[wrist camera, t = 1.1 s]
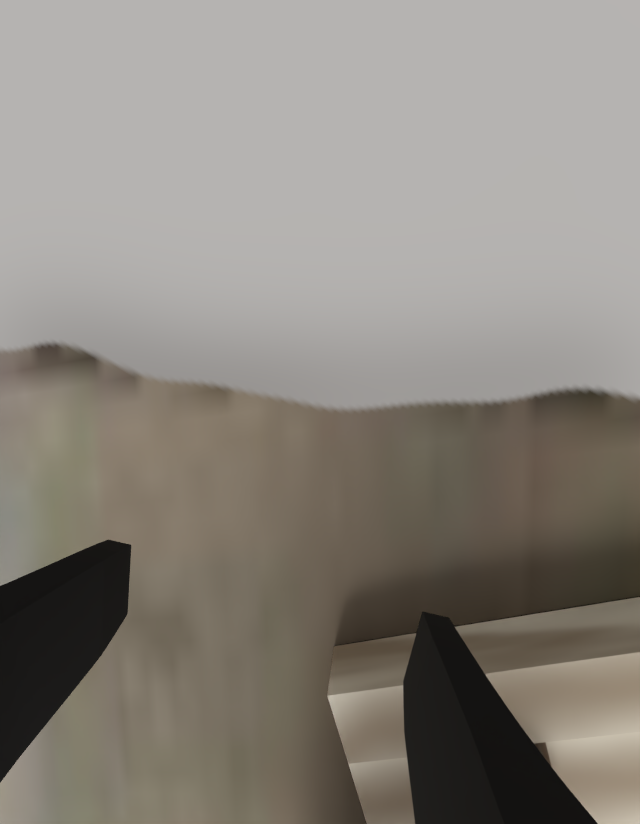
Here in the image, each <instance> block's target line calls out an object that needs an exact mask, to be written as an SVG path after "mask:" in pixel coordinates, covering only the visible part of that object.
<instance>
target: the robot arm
mask: <svg viewBox="0 0 640 824" xmlns="http://www.w3.org/2000/svg"><path fill="white" fill-rule="evenodd" d="M130 557H131V545H129V544H125V543H120V542H116V541H112V540H106V541H103V542H101V543H98V544H96V545H93V546H91V547H89V548H86V549H84V550H82V551H79V552H77V553H75V554H73V555H70V556H68V557H66V558H64V559H61V560H59V561H57V562H55V563H52V564H50V565H48V566H46V567H43V568H41V569H39V570H36V571H34V572H32V573H30V574H27V575H25V576H23V577H20V578H18V579H16V580H14V581H11V582H9V583H7V584H4V585H2V586H0V782H1V781H2V779H3V778H4V777H5V776H6V774H7V773H8V772H9V770H10V769H11V768H12V766H13V765H14V764H15V762H16V761H17V760H18V758H19V757H20V756H21V755H22V753H23V752H24V751H25V750H26V748H27V747H28V746H29V745H30V743H31V742H32V741H33V740H34V739H35V737H36V736H37V735H38V734H39V732H40V731H41V730H42V729H43V727H44V726H45V725H46V724H47V722H48V721H49V720H50V719H51V717H52V716H53V715H54V714H55V713H56V711H57V710H58V709H59V708H60V706H61V705H62V704H63V703H64V701H65V700H66V699H67V698H68V696H69V695H70V694H71V693H72V691H73V690H74V689H75V688H76V686H77V685H78V684H79V683H80V681H81V680H82V679H83V678H84V676H85V675H86V674H87V673H88V671H89V670H90V669H91V668H92V666H93V665H94V664H95V663H96V661H97V660H98V659H99V657H100V656H101V655H102V653H103V652H104V650H105V649H106V647H107V646H108V644H109V643H110V641H111V639H112V638H113V636H114V635H115V633H116V632H117V630H118V628H119V627H120V625H121V624H122V622H123V620H124V619H125V617H126V615H127V612H128V593H129V575H130ZM403 708H404V735H405V744H406V752H407V761H408V769H409V778H410V786H411V794H412V802H413V810H414V818H415V824H598V823H597V822H596V821H595V820H594V818H593V817H592V816H591V815H590V814H589V812H588V811H587V810H586V809H585V808H584V806H583V805H582V804H581V803H580V802H579V800H578V799H577V798H576V797H575V796H574V794H573V793H572V792H571V791H570V790H569V788H568V787H567V786H566V785H565V783H564V782H563V781H562V780H561V778H560V777H559V776H558V775H557V773H556V772H555V771H554V770H553V768H552V767H551V766H550V764H549V763H548V762H547V760H546V759H545V758H544V756H543V755H542V754H541V752H540V751H539V750H538V748H537V747H536V746H535V744H534V743H533V742H532V740H531V739H530V738H529V736H528V735H527V734H526V732H525V731H524V730H523V728H522V727H521V726H520V724H519V723H518V721H517V720H516V719H515V717H514V716H513V714H512V713H511V712H510V710H509V709H508V707H507V706H506V704H505V703H504V701H503V700H502V699H501V697H500V696H499V694H498V693H497V691H496V690H495V688H494V687H493V685H492V684H491V682H490V681H489V679H488V678H487V676H486V675H485V673H484V672H483V670H482V669H481V667H480V666H479V664H478V662H477V661H476V659H475V658H474V656H473V655H472V653H471V652H470V650H469V648H468V647H467V645H466V644H465V642H464V641H463V639H462V638H461V636H460V634H459V633H458V631H457V630H456V628H455V627H454V625H453V624H452V622H451V620H450V619H449V618H448V617H443V616H439V615H435V614H430V613H426V612H422V615H421V619H420V622H419V626H418V629H417V633H416V637H415V640H414V644H413V647H412V651H411V655H410V658H409V662H408V665H407V669H406V673H405V676H404V680H403Z"/></svg>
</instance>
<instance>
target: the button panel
mask: <svg viewBox="0 0 640 824" xmlns="http://www.w3.org/2000/svg"><path fill="white" fill-rule="evenodd" d="M455 628H456V630H457V631H458V633H459V634H460V636H461V638H462V639H463V641H464V642H465V644H466V645H467V647H468V648H469V650H470V652H471V653H472V655H473V656H474V658H475V659H476V661H477V662H478V664H479V666H480V667H481V669H482V670H483V672H484V673H485V675H486V676H487V678H488V679H489V681H490V682H491V684H492V685H493V687H494V688H495V690H496V691H497V693H498V694H499V696H500V697H501V699H502V700H503V701H504V703H505V704H506V706H507V707H508V709H509V710H510V712H511V713H512V714H513V716H514V717H515V719H516V720H517V721H518V723H519V724H520V726H521V727H522V728H523V730H524V731H525V732H526V734H527V735H528V736H529V738H530V739H531V740H532V742H533V743H534V744H535V746H536V747H537V748H538V750H539V751H540V752H541V754H542V755H543V756H544V758H545V759H546V760H547V762H548V763H549V764H550V766H551V767H552V768H553V770H554V771H555V772H556V773H557V775H558V776H559V777H560V778H561V780H562V781H563V782H564V783H565V785H566V786H567V787H568V788H569V790H570V791H571V792H572V793H573V794H574V796H575V797H576V798H577V799H578V800H579V802H580V803H581V804H582V805H583V806H584V808H585V809H586V810H587V811H588V812H589V814H590V815H591V816H592V817H593V818H594V820H595V821H596V822H597V823H598V824H640V597H636V598H630V599H624V600H618V601H612V602H605V603H599V604H593V605H587V606H581V607H574V608H568V609H562V610H556V611H550V612H544V613H537V614H531V615H525V616H519V617H513V618H506V619H500V620H494V621H488V622H482V623H475V624H469V625H463V626H457V627H455ZM415 637H416V633H413V634H407V635H401V636H395V637H389V638H382V639H376V640H370V641H364V642H358V643H351V644H345V645H339V646H334V649H333V657H332V664H331V672H330V680H329V687H328V695H327V696H328V700H329V703H330V706H331V709H332V713H333V716H334V719H335V722H336V725H337V729H338V732H339V735H340V738H341V742H342V745H343V748H344V751H345V755H346V758H347V761H348V764H349V768H350V771H351V774H352V777H353V781H354V784H355V787H356V790H357V794H358V797H359V800H360V803H361V807H362V810H363V813H364V816H365V819H366V823H367V824H415V818H414V810H413V802H412V794H411V786H410V778H409V769H408V761H407V752H406V744H405V735H404V708H403V680H404V676H405V673H406V669H407V665H408V662H409V658H410V655H411V651H412V647H413V644H414V640H415Z"/></svg>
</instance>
